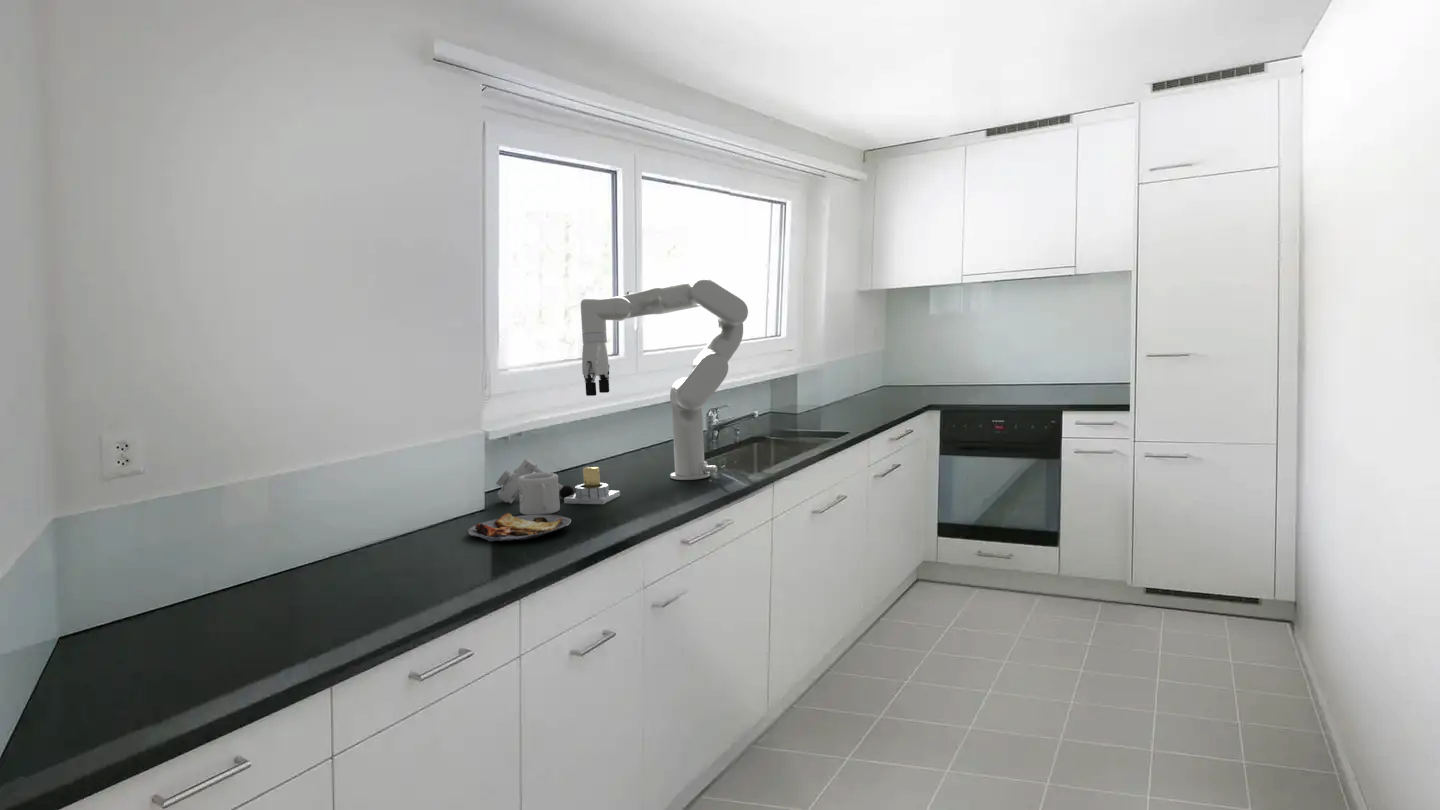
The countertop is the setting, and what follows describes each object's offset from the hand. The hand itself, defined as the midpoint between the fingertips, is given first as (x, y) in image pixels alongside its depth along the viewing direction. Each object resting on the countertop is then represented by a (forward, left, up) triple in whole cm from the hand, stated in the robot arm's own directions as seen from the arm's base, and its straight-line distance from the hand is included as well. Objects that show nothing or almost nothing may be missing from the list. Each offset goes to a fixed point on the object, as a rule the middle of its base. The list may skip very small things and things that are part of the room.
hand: (597, 394), depth 300 cm
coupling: (-7, +23, -27) cm, 36 cm away
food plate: (-6, +64, -29) cm, 70 cm away
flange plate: (-7, +23, -28) cm, 37 cm away
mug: (0, +41, -29) cm, 50 cm away
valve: (+10, +26, -29) cm, 40 cm away
